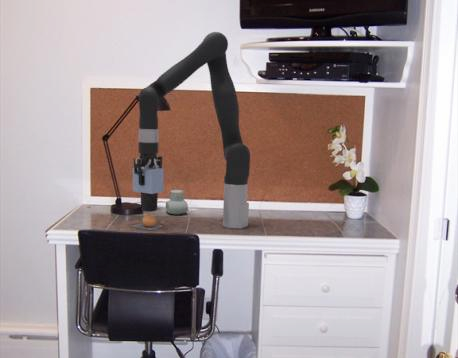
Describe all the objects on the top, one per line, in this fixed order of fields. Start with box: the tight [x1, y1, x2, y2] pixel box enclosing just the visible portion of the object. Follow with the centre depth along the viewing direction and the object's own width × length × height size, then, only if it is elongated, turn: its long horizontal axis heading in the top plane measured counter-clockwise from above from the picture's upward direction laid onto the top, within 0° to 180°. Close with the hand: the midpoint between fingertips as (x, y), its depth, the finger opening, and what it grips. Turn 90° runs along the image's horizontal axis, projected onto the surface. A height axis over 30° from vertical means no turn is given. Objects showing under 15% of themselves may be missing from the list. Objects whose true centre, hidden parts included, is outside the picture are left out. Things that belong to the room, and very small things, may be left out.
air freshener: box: [165, 189, 189, 216], centre depth 222 cm, size 11×8×10 cm
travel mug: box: [140, 192, 159, 212], centre depth 227 cm, size 8×8×20 cm
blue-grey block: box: [132, 167, 165, 194], centre depth 195 cm, size 10×7×9 cm
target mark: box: [131, 222, 165, 231], centre depth 198 cm, size 10×8×1 cm
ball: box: [142, 213, 157, 227], centre depth 197 cm, size 5×5×5 cm
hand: (148, 184), depth 195 cm, fingers closed on blue-grey block, 6 cm apart
